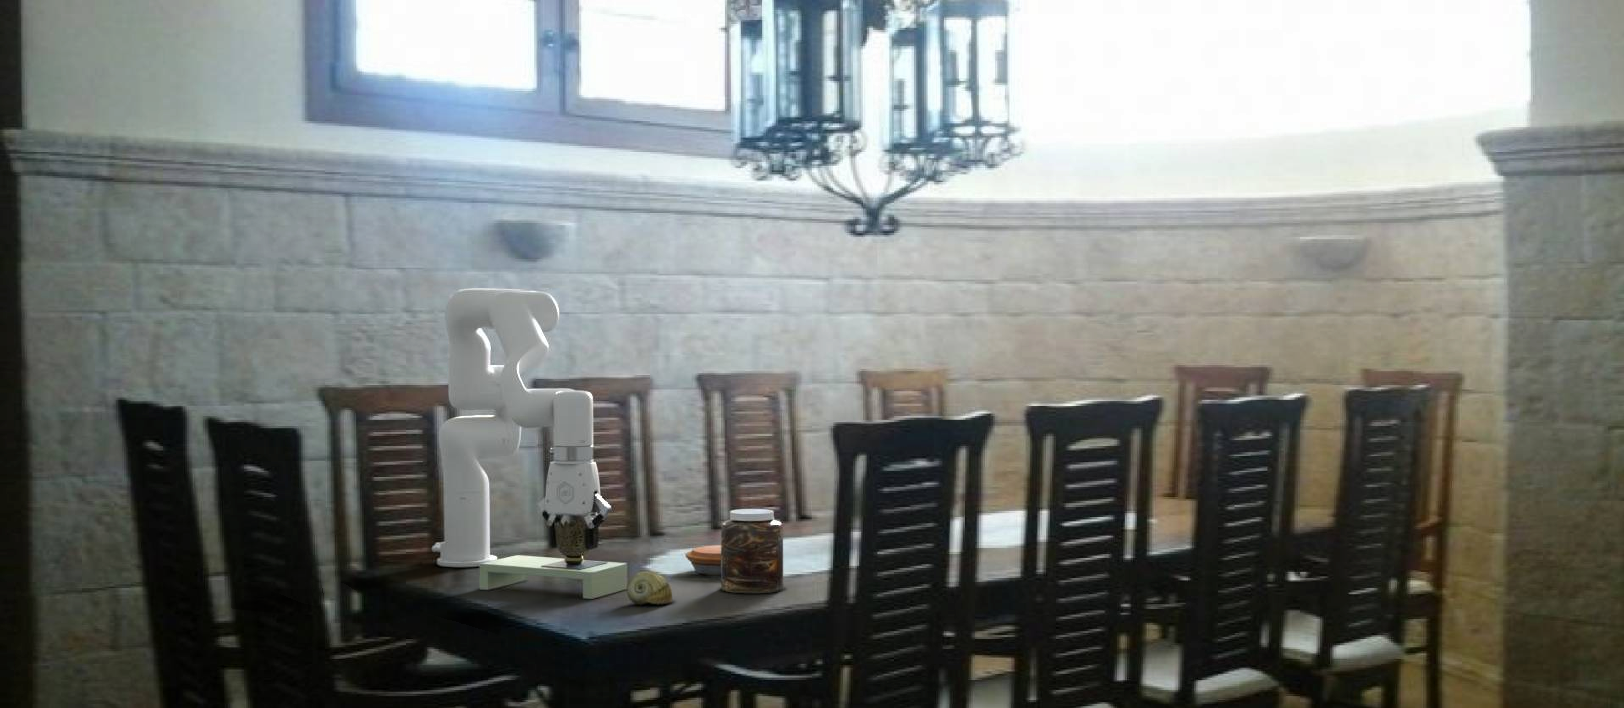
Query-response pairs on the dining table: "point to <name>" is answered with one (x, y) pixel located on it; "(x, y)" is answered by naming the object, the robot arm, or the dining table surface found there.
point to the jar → (752, 552)
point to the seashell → (649, 589)
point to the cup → (571, 541)
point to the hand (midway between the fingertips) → (574, 546)
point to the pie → (706, 559)
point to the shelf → (555, 573)
